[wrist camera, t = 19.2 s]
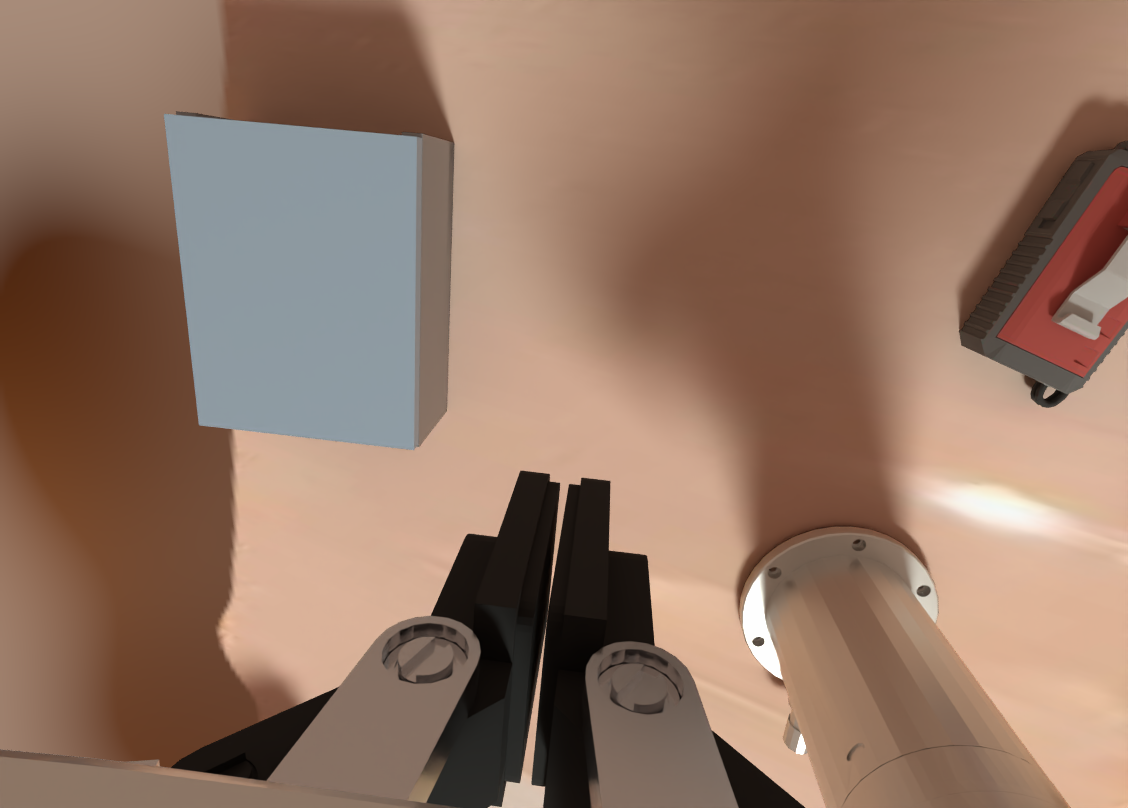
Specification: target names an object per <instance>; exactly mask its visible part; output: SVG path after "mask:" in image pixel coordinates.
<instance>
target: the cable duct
mask: <svg viewBox="0 0 1128 808" xmlns="http://www.w3.org/2000/svg"><path fill="white" fill-rule="evenodd" d="M176 115H182V116H193V117H204V118H215V119H225V118H220V117H214V116H208V115H203V114H198V113H188V112H176ZM226 120H231V119H226ZM402 135H403V136H414V137H420V138H422V187H421V271H420V356H419V440H418V446H417V447H419V446H420V445H421V444H422V442H423V441H424V440H425V439H426V437H427V436H428V435H429V433H430V432H431V431H432V429H433V428H434V427H435V426H436V424H437V423H438V422H439V420H440V419H441V418H442V417H443V415H444V414H445V413H446V411H447V390H448V354H449V318H450V282H451V246H452V210H453V173H454V143H453V142H450V141H446V140H443V139H439V138H436V137H432V136H429V135H426V134H421V133H409V132H402Z"/></svg>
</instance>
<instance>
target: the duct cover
mask: <svg viewBox="0 0 1128 808" xmlns="http://www.w3.org/2000/svg"><path fill="white" fill-rule="evenodd" d="M164 119H165V127H166V136H167V144H168V154H169V163H170V172H171V180H172V189H173V198H174V207H175V216H176V225H177V234H178V243H179V251H180V260H181V269H182V278H183V286H184V295H185V305H186V313H187V322H188V331H189V339H190V349H191V358H192V367H193V375H194V384H195V393H196V402H197V411H198V420H199V425H202V426H210V427H211V426H212V427H219V428H228V429H236V430H245V431H254V432H262V433H271V434H279V435H288V436H297V437H305V438H314V439H323V440H331V441H340V442H348V443H357V444H366V445H374V446H383V447H392V448H400V449H409V450H414V449H415V448H416V447H417V446H418V440H419V356H420V271H421V187H422V138H420V137H414V136H403V135H392V134H381V133H370V132H359V131H348V130H337V129H325V128H314V127H303V126H292V125H281V124H270V123H259V122H248V121H237V120H226V119H215V118H204V117H193V116H182V115H169V114H164Z"/></svg>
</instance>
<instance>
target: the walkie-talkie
mask: <svg viewBox="0 0 1128 808" xmlns="http://www.w3.org/2000/svg"><path fill="white" fill-rule="evenodd" d="M1024 235H1025V238H1024V239H1023V240H1022V242H1021V241H1020V242H1019V243H1018V245H1019V246H1018V248H1017V249H1016V251H1013V252H1012V254H1013V255H1012V257H1011V258H1010V260H1007V261H1006V265H1005V267H1004V268H1003V269H1001V270H1000V271H999V272H1000V274H999V276H998V277H997V278H995V279H994V280H993V281H994V283H993V285H992V286H991V287H988V292H987V293H986V295H985V296H984V295H983V296H982V301H981V302H980V304H977V305H976V310H975V311H974V312H973V313H971V314H970V316H971V317H970V318H969V320H968V321H965V323H964V324H965V326H964V327H963V329H962V330H959V333H960V339H961V345H962V346H964V347H966V348H968V349H971V350H973V351H975V352H977V353H979V354H981V355H983V356H986V357H988V358H990V359H992V360H994V361H996V362H998V363H1000V364H1003V365H1005V366H1007V367H1009V368H1011V369H1013V370H1015V371H1018V372H1020V373H1022V374H1024V375H1026V376H1028V377H1030V378H1033V379H1035V380H1036V383H1035V384H1034V386H1033V387H1032V390H1031V399H1032V400H1033V401H1035V402H1036V403H1037V404H1038V405H1041V406H1042V407H1047V408H1049V407H1054V406H1056V405H1058V404H1059V403H1060V402H1062V401H1063V400H1064V399H1065V398H1066V397H1067V396H1068V394H1069V393H1071V392H1074V391H1076V390H1078V389H1080V388H1083V385H1084V384H1085V382H1086V381H1088V380H1089V379H1090V376H1091V375H1092V373H1093V372H1095V371H1096V370H1097V367H1098V366H1099V364H1100V363H1102V362H1103V361H1104V360H1103V359H1104V358H1105V357H1106V355H1107V354H1109V353H1110V352H1111V351H1110V350H1111V349H1112V348H1113V346H1114V345H1116V344H1117V341H1118V340H1119V339H1120V337H1121V336H1123V335H1124V334H1125V333H1124V332H1125V331H1126V330H1127V328H1128V141H1124V142H1121V143H1119V144H1117V146H1116V147H1115V148H1114V149H1113V150H1100V151H1088V152H1086V153H1084V154H1082V155H1080V156H1078V157H1077V158H1076V159H1075V161H1074V162H1073V164H1072V165H1071V167H1070V168H1069V170H1068V171H1067V173H1066V174H1065V176H1064V177H1063V178H1062V180H1061V181H1060V183H1059V184H1058V186H1057V187H1056V189H1055V190H1054V192H1053V193H1052V195H1051V196H1050V198H1049V199H1048V201H1047V202H1046V204H1045V205H1044V206H1043V208H1042V209H1041V211H1040V212H1039V214H1038V215H1037V217H1036V218H1035V220H1034V221H1033V223H1032V224H1031V226H1030V227H1029V229H1028V230H1027V232H1026V233H1025V234H1024ZM1048 386H1049V387H1052V388H1054V389H1057V390H1056V391H1055V392H1054V393H1053V394H1052V395H1051V396H1049V397H1048V398H1046V399H1043V394H1044V392H1045V390H1046V388H1047V387H1048Z"/></svg>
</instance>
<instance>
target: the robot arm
mask: <svg viewBox="0 0 1128 808" xmlns="http://www.w3.org/2000/svg"><path fill="white" fill-rule="evenodd" d="M559 491H560V483H556V482H550V474H545V473H536V472H528V471H520V473H519V476H518V479H517V482H516V485H515V488H514V491H513V494H512V497H511V499H510V502H509V505H508V508H507V511H506V514H505V517H504V520H503V522H502V525H501V528H500V531H499V534H498V537H492V536H484V535H476V534H467V536H466V537H465V539H464V541H463V544H462V546H461V548H460V550H459V553H458V555H457V557H456V560H455V562H454V564H453V566H452V569H451V571H450V573H449V575H448V578H447V580H446V582H445V585H444V587H443V589H442V591H441V594H440V596H439V598H438V601H437V603H436V605H435V607H434V610H433V612H432V614H431V616H425V617H415V618H412V619H408V620H405V621H402V622H399V623H397V624H396V625H394V626H392V627H390V628H388V629H387V630H386V631H384V632H383V633H382V634H381V635H380V636H379V637H378V638H377V639H376V640H375V642H374V643H373V644H372V645H371V647H370V648H369V649H368V651H367V652H366V653H365V654H364V656H363V657H362V658H361V660H360V661H359V662H358V663H357V665H356V666H355V667H354V669H353V670H352V671H351V672H350V674H349V675H348V676H347V678H346V679H345V680H344V682H343V683H342V684H341V685H340V687H338V688H335V689H333V690H331V691H329V692H326V693H324V694H322V695H320V696H317V697H315V698H313V699H311V700H308V701H306V702H304V703H302V704H299V705H297V706H295V707H293V708H290V709H288V710H286V711H283V712H281V713H279V714H277V715H274V716H272V717H270V718H268V719H265V720H263V721H261V722H259V723H256V724H254V725H252V726H250V727H248V728H245V729H243V730H241V731H238V732H236V733H234V734H232V735H229V736H227V737H225V738H223V739H220V740H218V741H216V742H214V743H211V744H209V745H207V746H205V747H202V748H200V749H199V750H197V751H195V752H193V753H191V754H190V755H188V756H186V757H184V758H182V759H181V760H179V761H178V762H177V763H176V764H175V765H173V766H172V767H171V768H166V767H160V764H159V760H146V761H131V762H119V761H110V760H103V759H94V758H84V757H74V756H63V755H53V754H42V753H30V752H21V751H10V750H0V808H488V807H489V806H491V805H492V806H499V807H502V802H503V797H504V791H505V786H506V781H508V782H515V783H520V780H521V774H522V768H523V762H524V756H525V750H526V744H527V738H528V732H529V726H530V720H531V714H532V708H533V702H534V695H535V689H536V683H537V677H538V671H539V665H540V659H541V653H542V647H543V641H544V635H545V629H546V636H545V647H544V657H543V668H542V678H541V689H540V699H539V710H538V720H537V731H536V741H535V752H534V762H533V773H532V785H537V786H544V787H545V795H544V805H543V808H805V807H804V806H803V805H801V804H800V803H799V802H798V801H797V800H795V799H794V798H793V797H792V796H791V795H789V794H788V793H787V792H786V791H784V790H783V789H782V788H781V787H780V786H778V785H777V784H776V783H775V782H774V781H772V780H771V779H770V778H769V777H768V776H766V775H765V774H764V773H763V772H762V771H760V770H759V769H758V768H757V767H756V766H754V765H753V764H752V763H751V762H749V761H748V760H747V759H746V758H745V757H743V756H742V755H741V754H740V753H739V752H737V751H736V750H735V749H734V748H733V747H731V746H730V745H729V744H728V743H727V742H725V741H724V740H723V739H722V738H721V737H719V736H718V735H717V734H716V733H715V732H713V731H712V730H711V728H710V725H709V722H708V719H707V716H706V713H705V710H704V708H703V705H702V702H701V699H700V696H699V693H698V690H697V688H696V685H695V682H694V680H693V678H692V676H691V674H690V672H689V671H688V669H687V667H686V666H685V665H683V664H682V663H681V662H680V661H679V660H678V659H677V658H676V657H675V656H673V655H672V654H670V653H668V652H667V651H665V650H663V649H661V648H659V647H656V646H655V645H654V632H653V620H652V608H651V595H650V583H649V571H648V560H647V556H646V555H641V554H633V553H624V552H616V551H609V516H610V481H605V480H597V479H588V478H581V485H573V484H569V488H568V494H567V500H566V506H565V512H564V518H563V524H562V530H561V536H560V542H559V548H558V554H557V560H556V566H555V573H554V579H553V585H552V591H551V597H550V603H549V596H550V586H551V575H552V565H553V554H554V544H555V533H556V523H557V512H558V502H559ZM772 567H773V568H772ZM548 606H549V610H548ZM938 613H939V609H938V595H937V591H936V587H935V583H934V581H933V579H932V578H931V576H930V574H929V572H928V570H927V569H926V567H925V566H924V565H923V564H922V562H921V561H920V560H919V559H918V557H917V556H916V555H915V554H914V553H913V552H911V551H910V550H909V549H908V548H907V547H906V546H905V545H904V544H902V543H900V542H899V541H897V540H895V539H893V538H892V537H890V536H888V535H885V534H882V533H879V532H877V531H874V530H871V529H864V528H858V527H828V528H822V529H816V530H812V531H809V532H806V533H803V534H800V535H797V536H795V537H793V538H791V539H789V540H787V541H785V542H784V543H782V544H780V545H778V546H777V547H776V548H774V549H773V550H772V551H771V552H769V553H768V554H767V555H765V556H764V558H763V559H762V560H761V561H760V562H759V563H758V564H757V565H756V566H755V568H754V569H753V571H752V572H751V574H750V576H749V577H748V579H747V581H746V582H745V585H744V588H743V591H742V594H741V598H740V608H739V614H740V622H741V628H742V631H743V634H744V637H745V641H746V643H747V645H748V647H749V649H750V651H751V653H752V654H753V655H754V657H755V658H756V659H757V660H758V661H759V663H760V664H761V665H762V666H763V667H764V668H766V669H767V670H768V671H769V672H771V673H772V674H773V675H774V676H776V677H778V678H780V679H782V680H783V681H784V684H785V687H786V690H787V693H788V696H789V697H788V702H789V705H790V707H791V708H792V710H791V714H789V717H788V720H787V724H786V728H785V731H784V735H783V740H784V743H785V744H786V745H787V747H788V748H789V749H791V750H792V751H794V752H796V753H800V754H806V753H808V756H809V759H810V762H811V765H812V767H813V770H814V773H815V776H816V779H817V782H818V785H819V788H820V791H821V794H822V797H823V800H824V803H825V806H826V808H1071V807H1070V806H1069V805H1068V803H1067V802H1066V801H1065V799H1064V798H1063V797H1062V795H1061V794H1060V792H1059V791H1058V790H1057V788H1056V787H1055V786H1054V784H1053V783H1052V782H1051V781H1050V780H1049V778H1048V777H1047V775H1046V774H1045V773H1044V771H1043V770H1042V769H1041V767H1040V766H1039V765H1038V763H1037V762H1036V760H1035V759H1034V758H1033V756H1032V755H1031V754H1030V752H1029V751H1028V750H1027V748H1026V747H1025V745H1024V744H1023V743H1022V741H1021V740H1020V739H1019V737H1018V736H1017V735H1016V733H1015V732H1014V730H1013V729H1012V728H1011V726H1010V725H1009V724H1008V722H1007V721H1006V720H1005V718H1004V717H1003V715H1002V714H1001V713H1000V711H999V710H998V709H997V707H996V706H995V704H994V703H993V702H992V700H991V699H990V698H989V696H988V695H987V694H986V692H985V691H984V689H983V688H982V687H981V685H980V684H979V683H978V681H977V680H976V679H975V677H974V676H973V674H972V673H971V672H970V670H969V669H968V668H967V666H966V665H965V664H964V662H963V661H962V659H961V658H960V657H959V655H958V654H957V653H956V651H955V650H954V648H953V647H952V646H951V644H950V643H949V642H948V640H947V639H946V638H945V636H944V635H943V633H942V632H941V631H940V629H939V628H938V627H937V625H936V622H937V618H938ZM547 615H548V618H547ZM546 622H547V627H546Z"/></svg>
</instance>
